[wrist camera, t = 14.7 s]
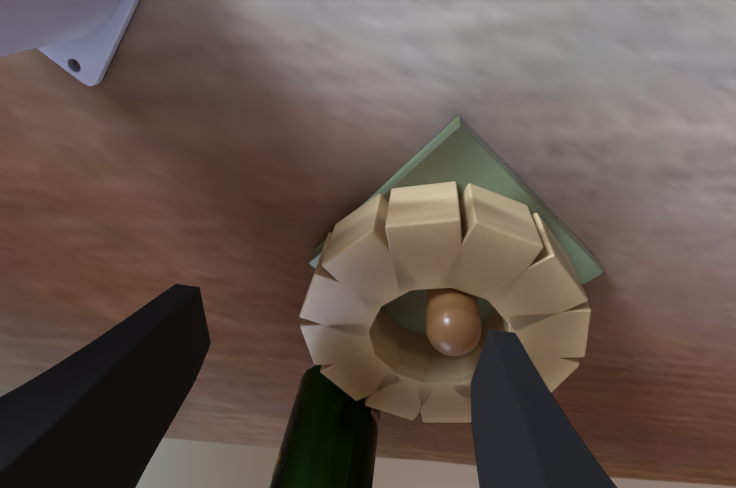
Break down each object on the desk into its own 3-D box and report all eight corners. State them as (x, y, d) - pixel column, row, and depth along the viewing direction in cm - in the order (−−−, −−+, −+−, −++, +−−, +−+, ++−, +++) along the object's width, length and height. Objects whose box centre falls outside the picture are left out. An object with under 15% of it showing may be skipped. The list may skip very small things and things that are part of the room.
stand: (313, 249, 22) (277, 339, 17) (458, 114, 17) (470, 182, 12) (442, 348, 25) (445, 449, 20) (596, 257, 20) (652, 360, 15)
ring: (267, 234, 20) (244, 275, 18) (534, 134, 16) (554, 169, 14) (377, 391, 26) (371, 439, 24) (593, 348, 22) (615, 401, 20)
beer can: (368, 347, 26) (330, 585, 16) (393, 400, 29) (374, 631, 19) (290, 358, 27) (213, 582, 18) (321, 407, 30) (269, 625, 20)
